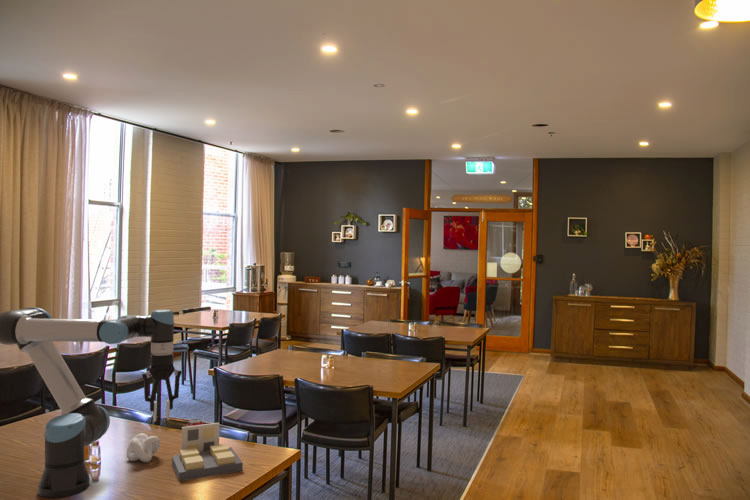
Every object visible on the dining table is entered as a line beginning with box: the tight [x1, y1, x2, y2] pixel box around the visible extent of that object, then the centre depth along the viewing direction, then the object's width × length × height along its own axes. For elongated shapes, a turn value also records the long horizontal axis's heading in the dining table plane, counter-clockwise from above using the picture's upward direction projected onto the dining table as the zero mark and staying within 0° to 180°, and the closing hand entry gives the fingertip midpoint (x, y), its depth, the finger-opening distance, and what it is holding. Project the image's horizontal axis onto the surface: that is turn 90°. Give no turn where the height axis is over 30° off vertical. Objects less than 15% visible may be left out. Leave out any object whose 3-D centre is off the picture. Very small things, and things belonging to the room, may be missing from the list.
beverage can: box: [186, 418, 204, 427], centre depth 226 cm, size 6×6×12 cm
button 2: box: [183, 456, 204, 470], centre depth 202 cm, size 6×6×3 cm
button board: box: [171, 422, 244, 482], centre depth 210 cm, size 22×22×12 cm
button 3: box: [210, 443, 230, 457], centre depth 215 cm, size 6×6×3 cm
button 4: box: [215, 451, 235, 465], centre depth 207 cm, size 6×6×3 cm
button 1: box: [179, 448, 199, 462], centre depth 210 cm, size 6×6×3 cm
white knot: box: [126, 432, 161, 463], centre depth 216 cm, size 11×12×9 cm
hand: (161, 419), depth 201 cm, fingers open, 4 cm apart
